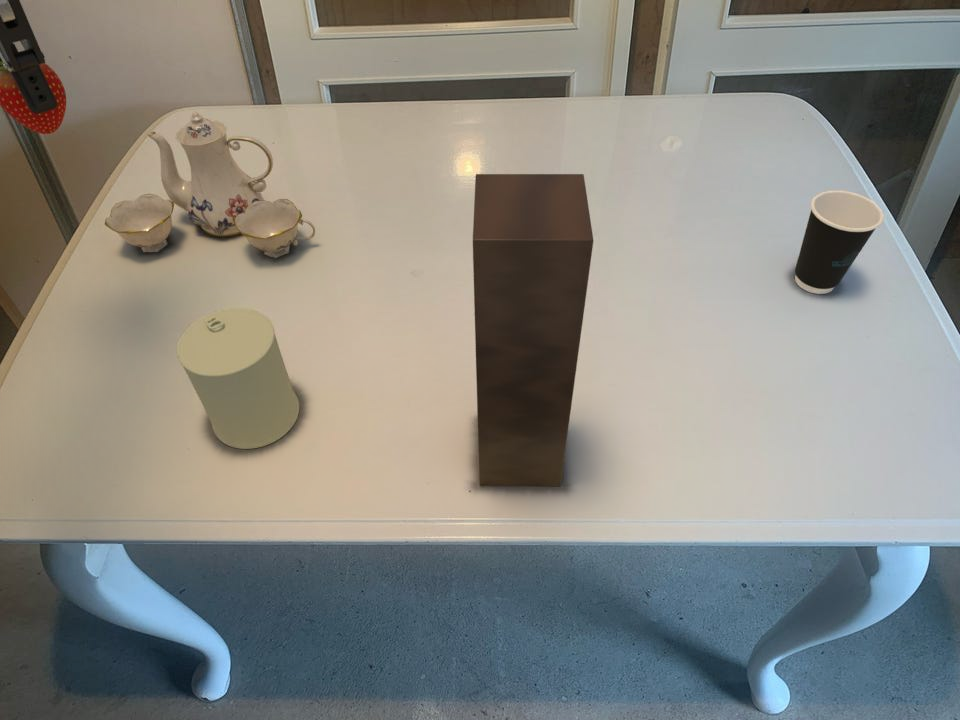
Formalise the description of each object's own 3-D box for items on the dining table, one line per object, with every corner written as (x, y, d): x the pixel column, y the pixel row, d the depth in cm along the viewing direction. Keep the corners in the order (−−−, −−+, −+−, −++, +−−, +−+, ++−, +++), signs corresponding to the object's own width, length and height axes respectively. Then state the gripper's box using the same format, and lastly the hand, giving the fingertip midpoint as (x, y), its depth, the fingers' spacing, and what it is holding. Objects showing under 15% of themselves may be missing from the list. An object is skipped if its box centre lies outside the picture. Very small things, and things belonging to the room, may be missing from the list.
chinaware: (109, 278, 92) (44, 178, 79) (144, 197, 102) (91, 95, 88) (317, 273, 92) (287, 172, 78) (331, 193, 102) (307, 91, 88)
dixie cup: (791, 254, 91) (821, 182, 83) (854, 274, 88) (890, 202, 80) (774, 288, 86) (803, 215, 78) (839, 310, 83) (876, 237, 75)
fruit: (68, 114, 66) (26, 28, 60) (91, 132, 63) (50, 45, 57) (11, 135, 63) (-39, 47, 57) (33, 155, 61) (-16, 65, 55)
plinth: (479, 485, 67) (472, 240, 45) (480, 421, 73) (475, 173, 51) (560, 486, 67) (593, 240, 45) (556, 421, 72) (583, 173, 50)
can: (274, 369, 78) (246, 290, 69) (315, 418, 73) (291, 340, 64) (198, 410, 74) (158, 332, 65) (236, 464, 69) (198, 388, 60)
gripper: (-169, -138, 50) (-37, 87, 63) (-120, -103, 43) (18, 143, 55) (-58, -155, 54) (46, 61, 66) (5, -125, 46) (108, 111, 59)
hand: (32, 98), depth 61 cm, fingers closed on fruit, 5 cm apart
